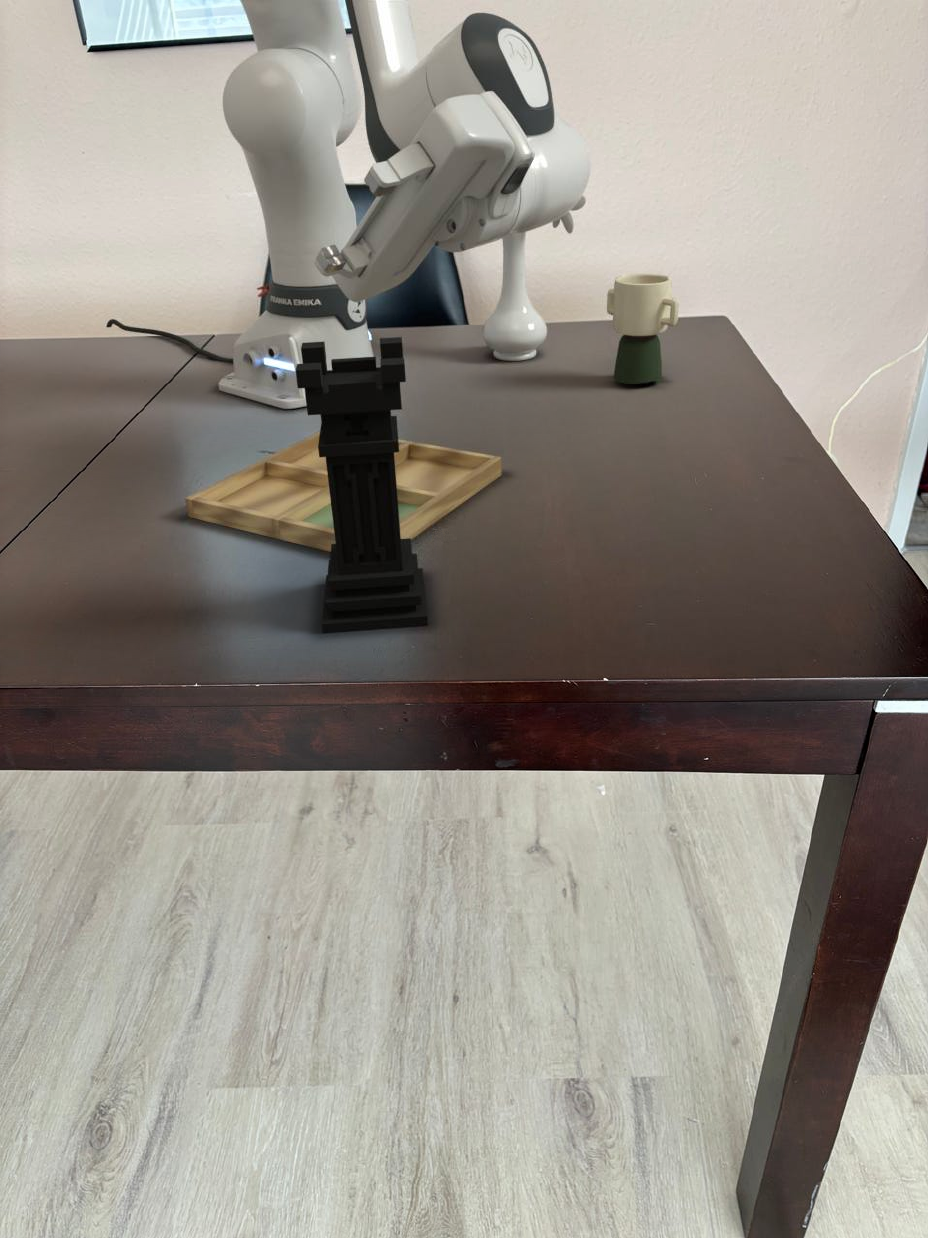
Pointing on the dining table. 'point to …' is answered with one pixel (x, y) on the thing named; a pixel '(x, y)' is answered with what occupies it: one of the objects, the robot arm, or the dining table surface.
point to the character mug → (641, 324)
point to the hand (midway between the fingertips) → (345, 224)
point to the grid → (300, 498)
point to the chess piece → (363, 489)
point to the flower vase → (518, 303)
